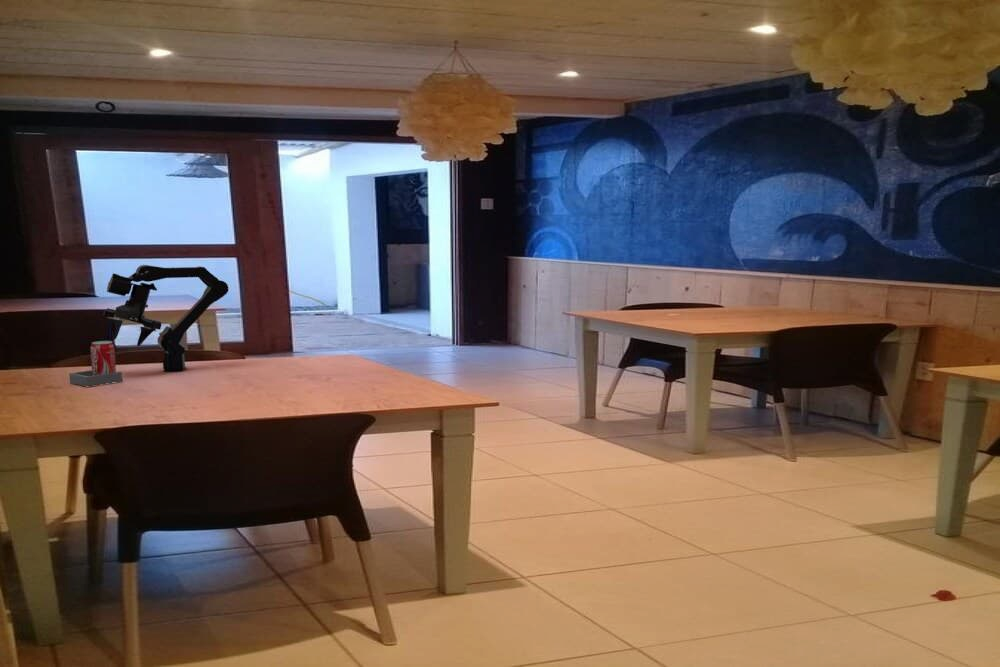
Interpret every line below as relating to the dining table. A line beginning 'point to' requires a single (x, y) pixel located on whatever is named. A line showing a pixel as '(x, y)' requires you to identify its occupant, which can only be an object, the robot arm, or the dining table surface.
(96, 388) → the dining table surface
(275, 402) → the dining table surface
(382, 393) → the dining table surface
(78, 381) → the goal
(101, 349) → the soda can
